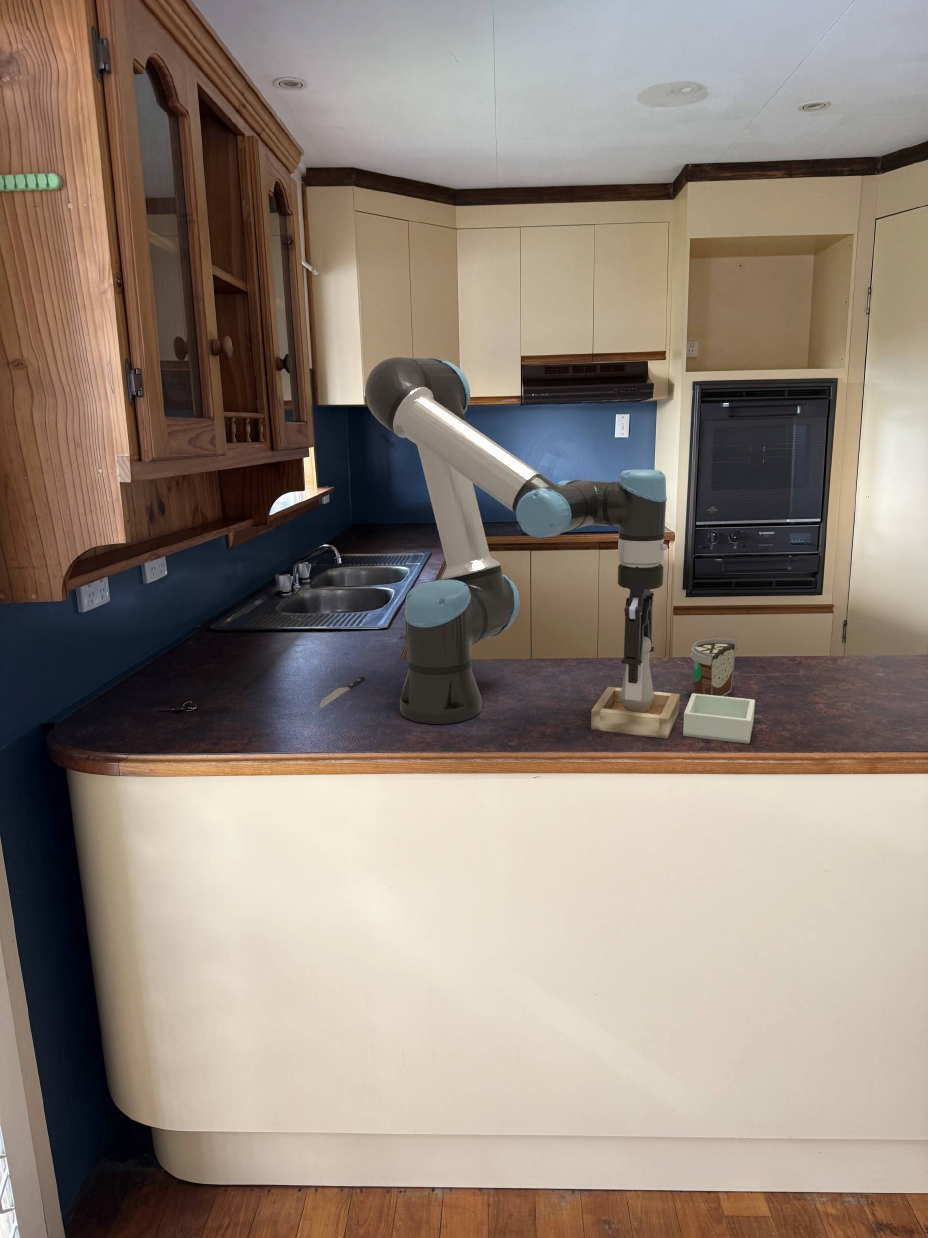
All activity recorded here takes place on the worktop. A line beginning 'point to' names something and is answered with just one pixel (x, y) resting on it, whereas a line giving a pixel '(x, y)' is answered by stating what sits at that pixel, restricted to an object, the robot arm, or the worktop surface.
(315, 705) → the worktop surface
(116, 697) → the worktop surface
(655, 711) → the plate
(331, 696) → the chef's knife
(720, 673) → the food container
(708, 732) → the bin
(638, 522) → the robot arm
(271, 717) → the worktop surface
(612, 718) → the beige square tray
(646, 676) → the salt shaker
